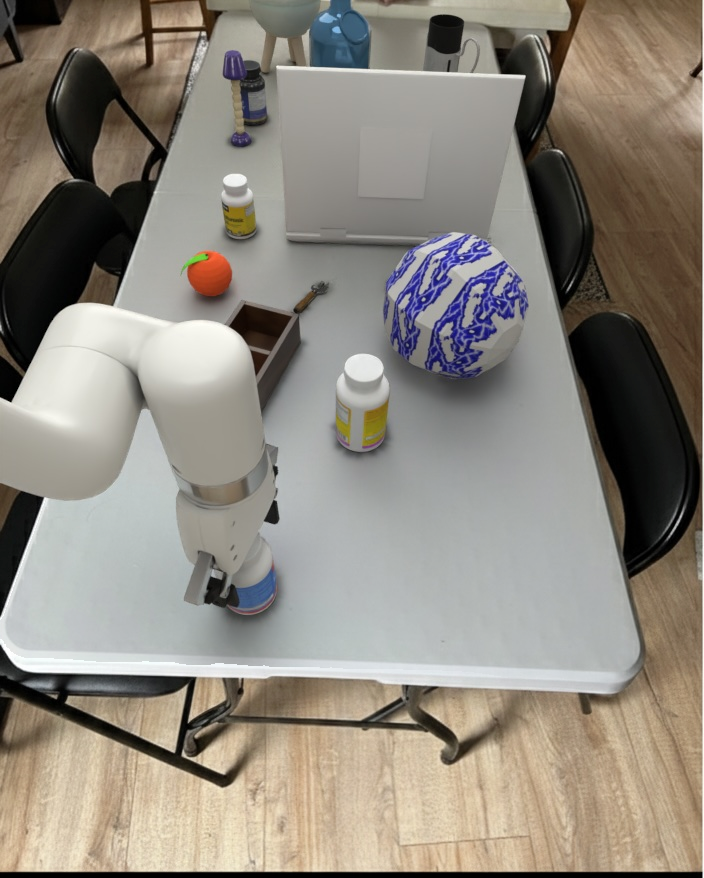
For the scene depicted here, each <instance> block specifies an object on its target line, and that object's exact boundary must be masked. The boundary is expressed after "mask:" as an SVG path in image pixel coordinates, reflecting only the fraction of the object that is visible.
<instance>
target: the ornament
mask: <svg viewBox="0 0 704 878" xmlns="http://www.w3.org/2000/svg"><path fill="white" fill-rule="evenodd" d="M528 310H529V300H528V294H527V287H526V283H525V282H524V281H523V279H522V278H521V276H520V274H519V273H518V272H517V270H516V269H515V268H514V267H513V265H512V264H511V263H510V262H509V261H508V259H506V258H505V256H504V255H503V254H502V253H501V252H500V251H499V250H498V249H497V248H496V247H495V246H493V245H492V244H490V243H488V241H487V242H485V241H484V240H482V239H481V238H479V237H477V236H476V235H471V234H464V233H457V232H452V233H449V234H445V235H442V236H439V237H435V238H432V239H430V240H429V241H427V242H425V243H423V244H421V245H419V246H415V247H413V248H411V249H409V250H407V251H406V252H405V254H404V255H403V257H402V258H401V260H400V261H399V262H398V264H397V265H396V267H395V269H393V272H392V273H391V275H390V276H389V277H388V279H387V280H386V281H385V287H384V298H383V309H382V311H383V312H382V313H383V327H384V333H385V335H386V337H387V339H388V340H389V342H390V344H391V346H392V348H393V350H394V351H395V352H397V354H399V355H400V356H401V357H402V358H403V359H404V360H406V361H407V362H408V363H410V364H411V365H413V366H415V367H417V368H420V369H423V370H425V371H428V372H430V373H432V374H435V375H438V376H440V377H445V378H447V379H451V380H464V379H474V378H476V377H478V376H480V375H481V374H483V373H485V372H487V371H489V370H491V369H492V368H494V367H495V366H497V365H498V364H500V363H502V362H503V361H504V360H506V359H507V358H508V357H509V356H510V354H511V352H513V350H514V349H515V347H517V345H518V343H519V341H520V338H521V336H522V332H523V330H524V327H525V321H526V318H527V314H528Z"/></svg>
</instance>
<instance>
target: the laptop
mask: <svg viewBox="0 0 704 878" xmlns="http://www.w3.org/2000/svg"><path fill="white" fill-rule="evenodd" d="M275 68H276V69H275V70H276V85H277V86H276V87H277V101H278V103H277V104H278V115H279V119H278V120H279V134H280V136H279V137H280V153H281V168H282V169H281V170H282V184H283V185H282V186H283V198H284V199H283V202H284V216H285V217H284V218H285V219H284V220H285V238H286V239H287V240H289V241H292V242H297V243H324V244H325V243H327V244H355V245H382V246H385V245H387V246H412V247H413V246H415V247H417V246H419V245H421V244H423V243H425V242H427V241H429V240H430V239H432V238H435V237H439V236H442V235H445V234H449V233H452V232H457V233H464V234H471V235H476V236H477V237H479V238H481V239H482V240H484V241H485V242H487V243H488V237H489V234H490V229H491V225H492V221H493V216H494V213H495V208H496V203H497V199H498V195H499V190H500V186H501V182H502V179H503V174H504V170H505V165H506V162H507V157H508V152H509V148H510V144H511V140H512V136H513V131H514V129H515V123H516V119H517V114H518V110H519V106H520V102H521V97H522V93H523V90H524V84H525V81H526V75H525V74H503V73H502V74H501V73H477V72H476V73H474V72H473V73H470V72H457V73H453V72H427V71H423V70H401V69H400V70H398V69H377V68H376V69H373V68H370V69H350V68H325V67H310V66H307V67H299V66H297V65H295V66H294V65H293V66H292V65H276V66H275Z"/></svg>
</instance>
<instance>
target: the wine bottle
mask: <svg viewBox="0 0 704 878" xmlns="http://www.w3.org/2000/svg"><path fill="white" fill-rule="evenodd" d="M308 45H309V46H308V49H309V50H308V54H309V55H308V56H309V57H308V58H309V67H325V68H350V69H371V50H372V27H371V24H370V22H369V20H367V18H366V17H365V16H364V15H363V14H361V12H359V11H358V10H356V9H355V8H354V7H353V5H352V0H329V6H328V8H326V9H324V10H322V11H319V13H318V14H317V15H316V17H315V18H314V20H313V22H312V25H311V27H310V28H309V30H308Z"/></svg>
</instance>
